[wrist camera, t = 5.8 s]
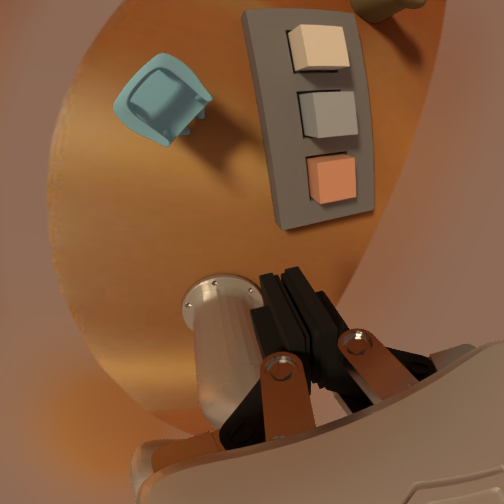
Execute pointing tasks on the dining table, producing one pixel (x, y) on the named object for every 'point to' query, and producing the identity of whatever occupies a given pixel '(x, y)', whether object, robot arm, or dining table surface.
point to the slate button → (328, 114)
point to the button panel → (290, 116)
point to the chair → (162, 100)
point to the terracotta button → (331, 177)
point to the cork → (382, 8)
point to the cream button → (318, 47)
